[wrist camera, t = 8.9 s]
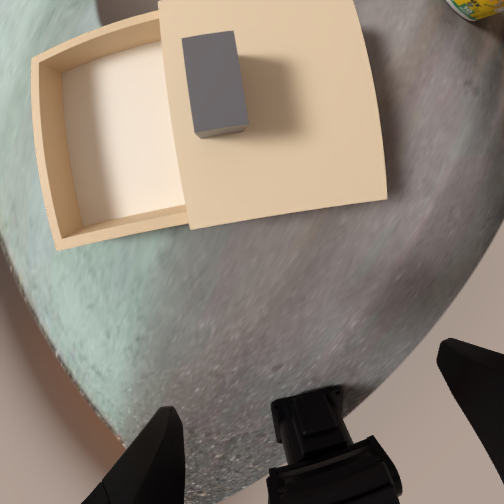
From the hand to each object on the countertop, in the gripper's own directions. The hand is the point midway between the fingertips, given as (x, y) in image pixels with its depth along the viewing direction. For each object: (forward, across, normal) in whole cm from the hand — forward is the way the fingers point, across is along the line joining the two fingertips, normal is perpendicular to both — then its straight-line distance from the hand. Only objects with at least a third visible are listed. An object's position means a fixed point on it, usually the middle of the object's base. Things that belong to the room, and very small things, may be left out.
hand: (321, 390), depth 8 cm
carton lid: (+8, -1, -10) cm, 13 cm away
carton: (+12, +7, -10) cm, 17 cm away
